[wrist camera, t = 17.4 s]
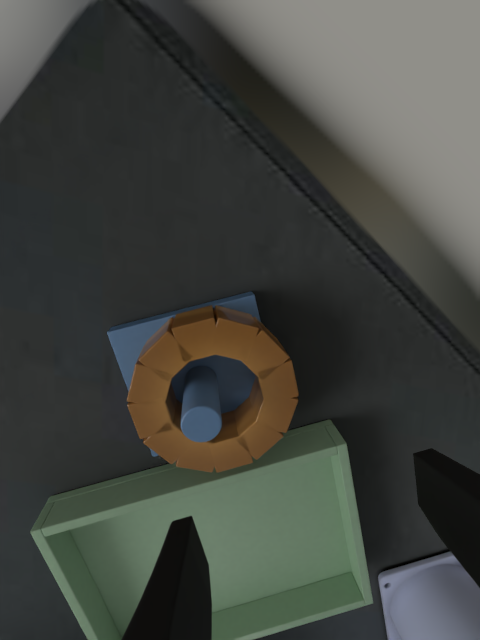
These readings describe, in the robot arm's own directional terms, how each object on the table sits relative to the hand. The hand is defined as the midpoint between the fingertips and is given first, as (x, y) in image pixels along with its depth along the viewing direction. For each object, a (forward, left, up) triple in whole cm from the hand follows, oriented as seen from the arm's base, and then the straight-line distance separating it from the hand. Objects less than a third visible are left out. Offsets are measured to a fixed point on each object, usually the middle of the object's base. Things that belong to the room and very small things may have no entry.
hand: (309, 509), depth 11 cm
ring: (+1, +3, -9) cm, 10 cm away
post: (+1, +3, -10) cm, 11 cm away
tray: (-11, +5, -10) cm, 16 cm away
